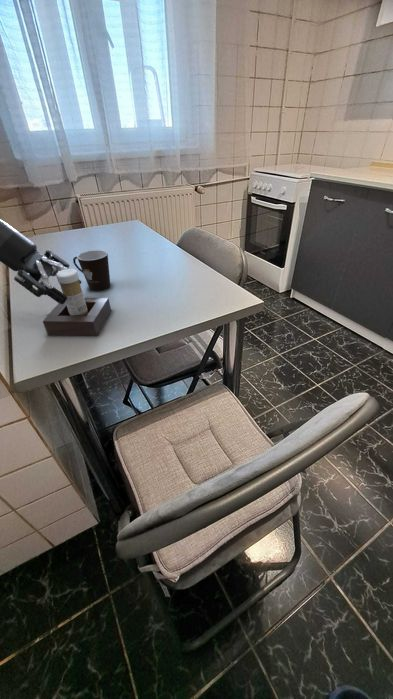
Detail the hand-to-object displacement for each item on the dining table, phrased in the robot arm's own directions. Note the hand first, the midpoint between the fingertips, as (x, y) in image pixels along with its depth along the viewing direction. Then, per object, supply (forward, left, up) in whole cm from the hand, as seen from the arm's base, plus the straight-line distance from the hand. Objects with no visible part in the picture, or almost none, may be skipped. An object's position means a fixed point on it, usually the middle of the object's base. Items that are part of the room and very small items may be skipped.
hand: (72, 292), depth 70 cm
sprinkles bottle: (0, 0, -8) cm, 8 cm away
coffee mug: (+22, +3, -8) cm, 24 cm away
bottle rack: (0, 0, -8) cm, 8 cm away
